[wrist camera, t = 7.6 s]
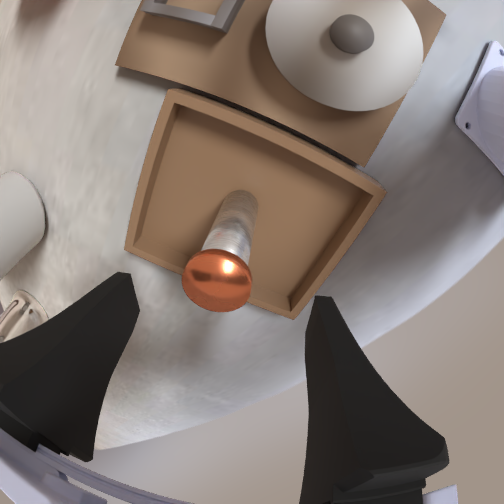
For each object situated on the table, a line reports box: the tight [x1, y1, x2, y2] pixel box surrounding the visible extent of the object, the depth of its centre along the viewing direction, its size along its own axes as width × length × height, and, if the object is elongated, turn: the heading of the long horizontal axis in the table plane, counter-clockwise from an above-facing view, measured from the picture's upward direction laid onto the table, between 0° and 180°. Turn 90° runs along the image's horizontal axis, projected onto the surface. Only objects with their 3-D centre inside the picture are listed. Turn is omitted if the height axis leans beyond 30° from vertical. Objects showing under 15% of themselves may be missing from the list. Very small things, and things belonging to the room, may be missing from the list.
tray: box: [124, 88, 387, 320], centre depth 18 cm, size 13×11×2 cm
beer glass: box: [0, 290, 48, 343], centre depth 22 cm, size 7×7×15 cm
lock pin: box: [182, 190, 258, 312], centre depth 15 cm, size 3×3×8 cm
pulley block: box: [115, 0, 446, 167], centre depth 10 cm, size 16×12×3 cm
